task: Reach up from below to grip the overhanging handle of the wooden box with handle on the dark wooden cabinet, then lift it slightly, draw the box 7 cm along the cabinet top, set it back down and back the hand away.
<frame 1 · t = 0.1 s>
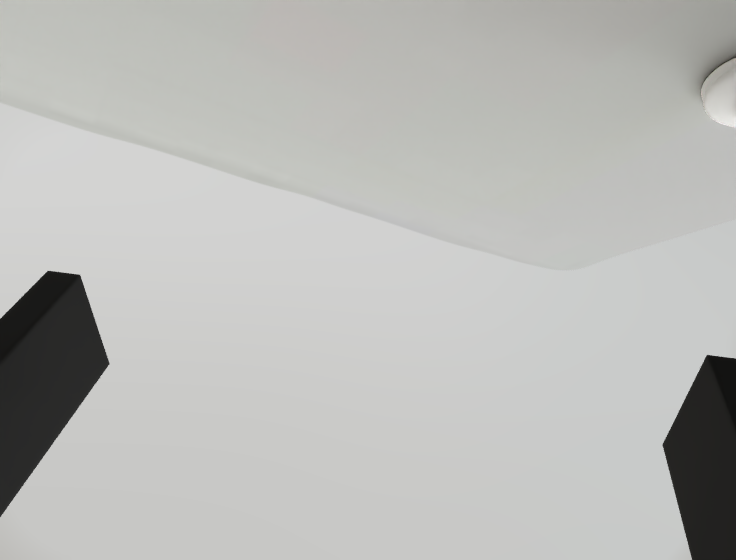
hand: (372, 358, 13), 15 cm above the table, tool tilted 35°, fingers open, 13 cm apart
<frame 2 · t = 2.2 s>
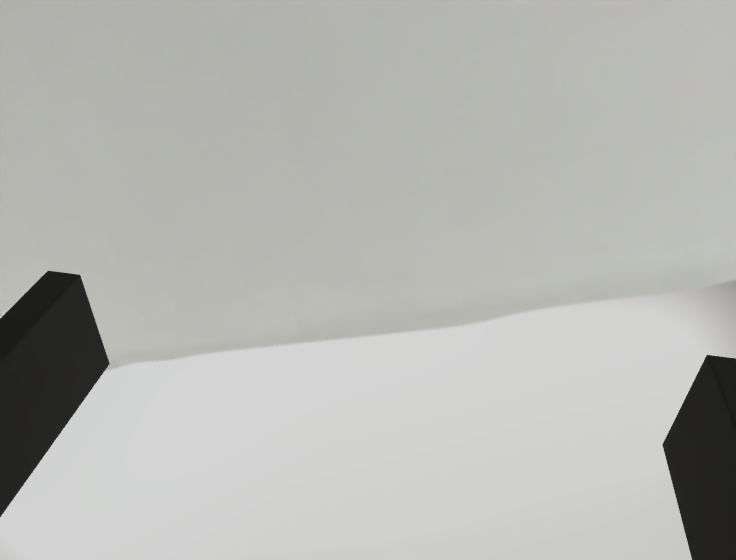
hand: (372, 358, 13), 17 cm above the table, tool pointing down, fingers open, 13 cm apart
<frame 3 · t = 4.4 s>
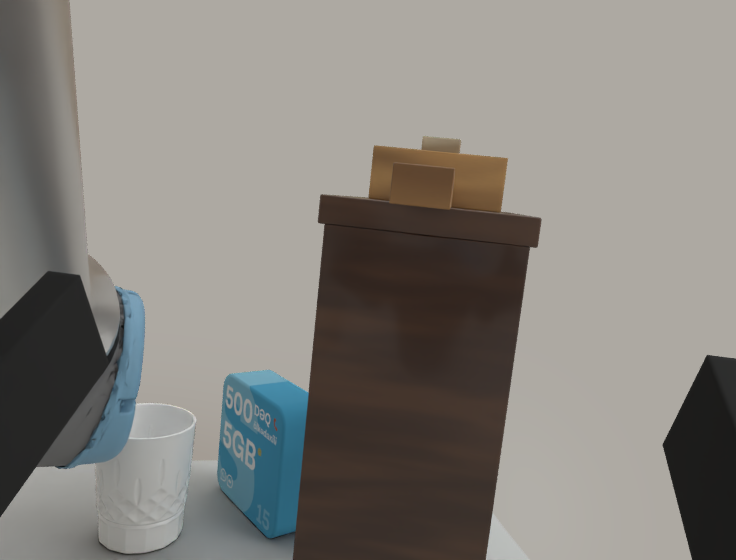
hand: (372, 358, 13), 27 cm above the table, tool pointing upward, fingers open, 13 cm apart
wooden box with handle: (434, 205, 44), point 30 cm above the table, touching dark wooden cabinet
data package: (263, 509, 58), on the table
white cup: (140, 533, 52), on the table
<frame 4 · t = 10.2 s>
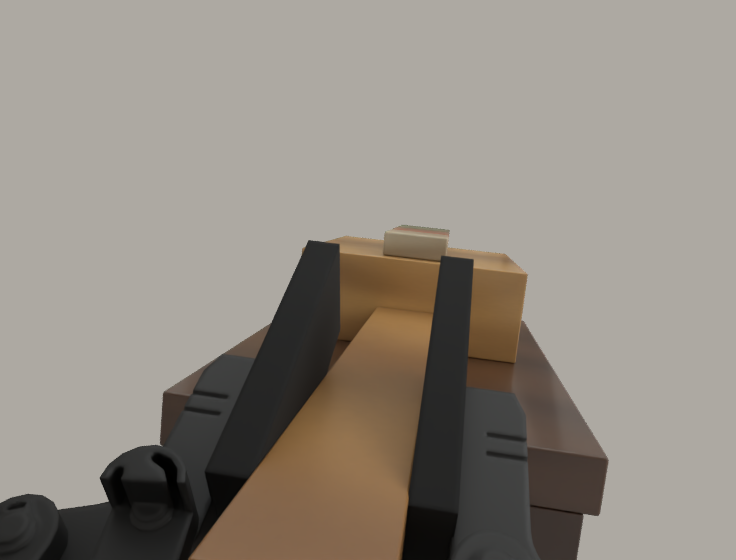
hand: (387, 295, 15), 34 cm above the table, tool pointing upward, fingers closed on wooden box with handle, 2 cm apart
wooden box with handle: (407, 334, 27), point 30 cm above the table, touching gripper, dark wooden cabinet
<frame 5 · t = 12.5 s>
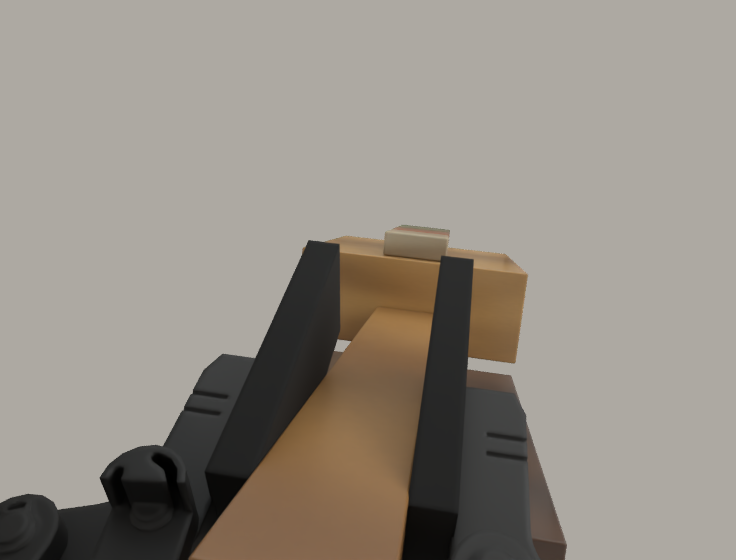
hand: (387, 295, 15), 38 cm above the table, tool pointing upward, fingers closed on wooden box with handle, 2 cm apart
wooden box with handle: (407, 334, 27), point 34 cm above the table, touching gripper
when the fingers open (34 cm above the table, at t = 15.0 s): wooden box with handle stays where it is, resting on dark wooden cabinet.
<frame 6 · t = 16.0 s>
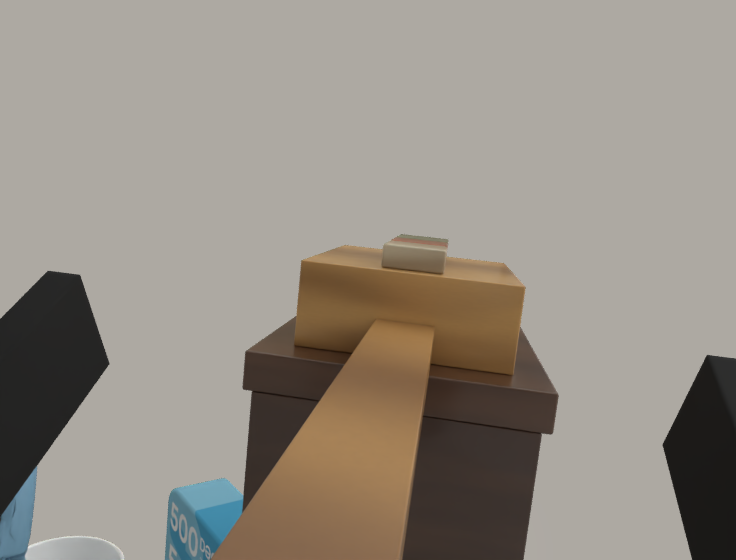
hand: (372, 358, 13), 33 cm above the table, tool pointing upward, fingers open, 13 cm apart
wooden box with handle: (406, 345, 28), point 30 cm above the table, touching dark wooden cabinet
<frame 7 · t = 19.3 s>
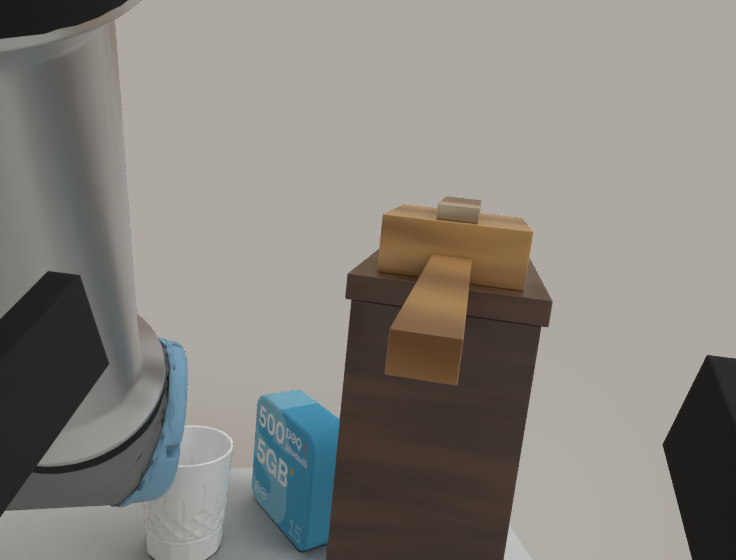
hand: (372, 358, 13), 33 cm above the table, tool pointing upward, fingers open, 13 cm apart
wooden box with handle: (451, 273, 40), point 30 cm above the table, touching dark wooden cabinet
data package: (295, 520, 63), on the table
white cup: (184, 545, 57), on the table
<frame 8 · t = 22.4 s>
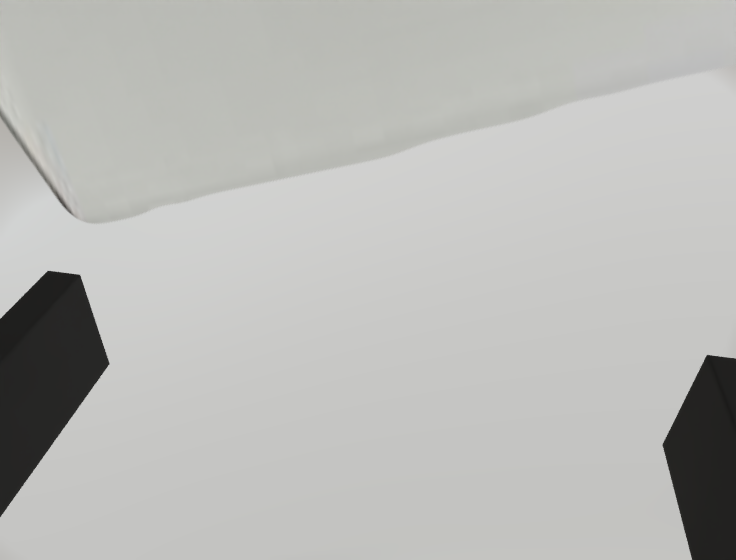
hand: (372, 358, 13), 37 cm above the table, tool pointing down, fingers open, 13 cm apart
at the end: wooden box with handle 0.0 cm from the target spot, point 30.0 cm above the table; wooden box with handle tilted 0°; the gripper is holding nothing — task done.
